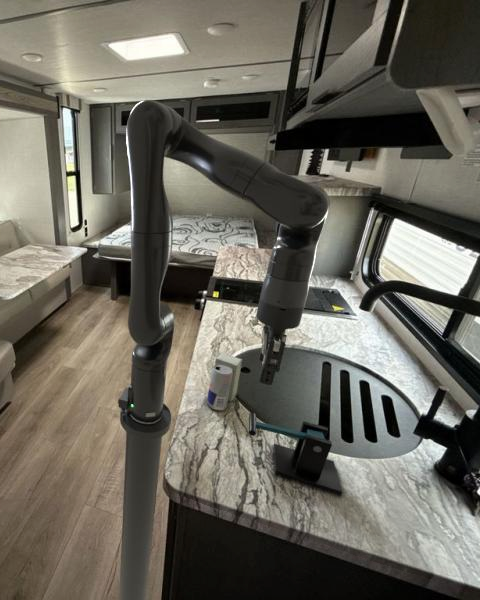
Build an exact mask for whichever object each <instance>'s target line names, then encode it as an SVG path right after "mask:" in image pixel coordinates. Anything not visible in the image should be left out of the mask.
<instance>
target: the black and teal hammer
mask: <svg viewBox="0 0 480 600" xmlns="http://www.w3.org/2000/svg"><path fill="white" fill-rule="evenodd" d="M257 429H258V430H263V431H267V432H270V433H273V434H274V433H275V434H279V435H283V436H286V437H291V438H295V439H298V438H299V439H303V440H304V439H305V436H306V434H308V435H311V436H315V437H319V438H322V439H324V435H323V433H322V432H318V431H314V430H309V429H307V433H304V432H300V431H299V430H295V429H290V428H287V427H282V426H277V425H273V424H270V423H265V422H260V421H257V415H256V413H255V412H250V413H248V434H249V435H250V436H252V437H255V436H256V435H257Z"/></svg>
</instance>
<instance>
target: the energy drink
mask: <svg viewBox="0 0 480 600" xmlns="http://www.w3.org/2000/svg"><path fill="white" fill-rule="evenodd" d="M232 375H233V372H232V368H231V367H229V366H228V365H225V364H215V363H214V365H213V366H212V369H211V373H210V379H209V385H208V391H207V397H206V405H208V407H209V408H210V409H212V410H214V411H224V410H226V409H227V407H228V402H229V400H228V396H229V391H230V386H231V381H232Z"/></svg>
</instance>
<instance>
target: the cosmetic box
mask: <svg viewBox="0 0 480 600" xmlns="http://www.w3.org/2000/svg"><path fill="white" fill-rule="evenodd" d="M242 363H243V359H242V358H239V357H236V356H233V355H230V354H228V353H224V352H221V353H219V354H218V356H216V357H215V362H214V365H215V364H225V365H228V366H229V367H231V368H232V372H233V375H232V381H231V386H230V391H229V396H228V402H232V401H233V400H234V399H235V397H236V396H237V392H238V387H239V382H240V381H239V380H240V375H241V368H242Z"/></svg>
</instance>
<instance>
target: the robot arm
mask: <svg viewBox="0 0 480 600" xmlns="http://www.w3.org/2000/svg"><path fill="white" fill-rule="evenodd" d="M126 123H127V124H126V130H125V131H126V133H125V135H126V137H125V138H126V148H127V157H128V160H127V161H128V169H129V178H130V179H129V180H130V297H129V305H128V316H127V329H128V332H129V335H130V337H131V339H132V340H133V342H135V343H136V344H135V346H134V347H133V349H132V352H131V368H130V384H129V385H128V387H125V388H124V390H123V392H122V393H121V395H119V398H118V400H117V404H118V408H119V409H120V410H121V409H122V410H123V411H124V410H125V409H126V410H127V416H129V417H131V419H132V420H133V421H134V422H136V423H138V424H141V425H146V426H150V425H154V424H157V423H158V422H160V420H161V419H162V415H163V403H164V400H165V399H164V398H165V390H166V389H165V388H166V377H167V370H168V359H169V357H170V354H171V351H172V347H173V345H172V344H173V339H174V333H175V315H174V313H173V310H172V308H171V307H170V306H169V305H168V304H167V303H166V302H164V301H161V290H162V286H163V283H164V279H165V276H166V274H167V271H168V268H169V264H170V262H171V261H170V260H171V257H172V252H173V238H174V237H173V236H174V235H173V234H174V221H173V215H172V210H171V207H170V206H171V205H170V203H169V200H168V197H167V196H168V195H167V193H166V192H167V191H166V189H165V182H164V164H165V158H167V159H170V160H174V161H177V162H180V163H182V164H184V165H186V166H189V167H190V168H192V169H194V170H195V171H197V172H198V173H200V174H201V175H202V176H204V177H205V178H206V179H207V180H208V181H210V182H211V183H213V184H214V185H215V186H217V187H218V188H220V189H222V190H223V191H225V192H226V193H228V194H230V195H232V196H234V197H236V198H237V199H239V200H241V201H243V202H245V203H247V204H249V205H252V206H254V207H255V208H256V209H258V210H259V211H261V212H262V213H263V214H265V215H266V216H267V217H268V218H270V219H271V220H273V221H275V222H277V224H279V228H278V232H277V238H276V241H275V243H274V245H273V246H272V249H271V252H270V255H269V260H268V265H267V269H266V272H265V273H266V274H265V276H264V279H263V282H262V286H261V290H260V296H259V300H258V304H257V310H256V315H255V316H256V317H255V318H256V319H257V321H258V322H260V323H261V324H263V325H262V331H261V336H260V339H261V341H260V343H261V348H260V351H259V356H258V360H259V361H260V362H262V363H261V365H262V368H261V372H260V376H259V383H261V384H263V385H267V386H272V385H273V382H274V378H275V375H276V373H279V372H280V370H281V363H282V360H283V355H284V351H285V348H286V346H287V345H286V342H287V337H288V335H287V334H286V330H292V329H296V328H298V327H299V326H300V324H301V321H302V317H303V313H304V309H305V305H306V302H307V299H308V295H309V290H310V281H311V277H312V273H313V269H314V266H315V261H316V255H317V249H318V248H317V247H318V244H319V242H320V238H321V235H322V232H323V229H324V227H325V223H326V220H327V217H328V214H329V210H330V207H331V200H330V196H329V194H328V193H327V191H325V189H323V188H322V187H321V186H317V185H315V184H311V183H307V182H306V181H303V180H301V179H298V178H297V177H294V176H292V175H289V174H287V173H284V172H282V171H281V170H280V169H279V168H278V167H276V166H275V165H273V164H271V163H269V162H268V161H266V160H264V159H262V158H259V157H258V156H256V155H253V154H251V153H250V152H247V151H245V150H242V149H240V148H238V147H236V146H234V145H233V146H232V145H230V144H227V143H226V142H223V141H220V140H218V139H216V138H213V137H212V136H210V135H208V134H206V133H204V132H203V131H201V130H199V129H198V128H197V127H195V125H193V124H191V123H190V122H189V121H188V120H186V119H185V118H184V117H183V116H181V114H179V113H178V112H177V111H176V110H175V109H173V108H172V107H171V106H169V105H165V104H164V103H162V102H159V101H156V100H153V99H152V100H151V99H145V100H142V101H140V102H138V103H136V104H135V106H134V107H133V108H132V110H131V111H130V113H129V117H128V119H127V122H126ZM271 360H274V362H273V361H271Z"/></svg>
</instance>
